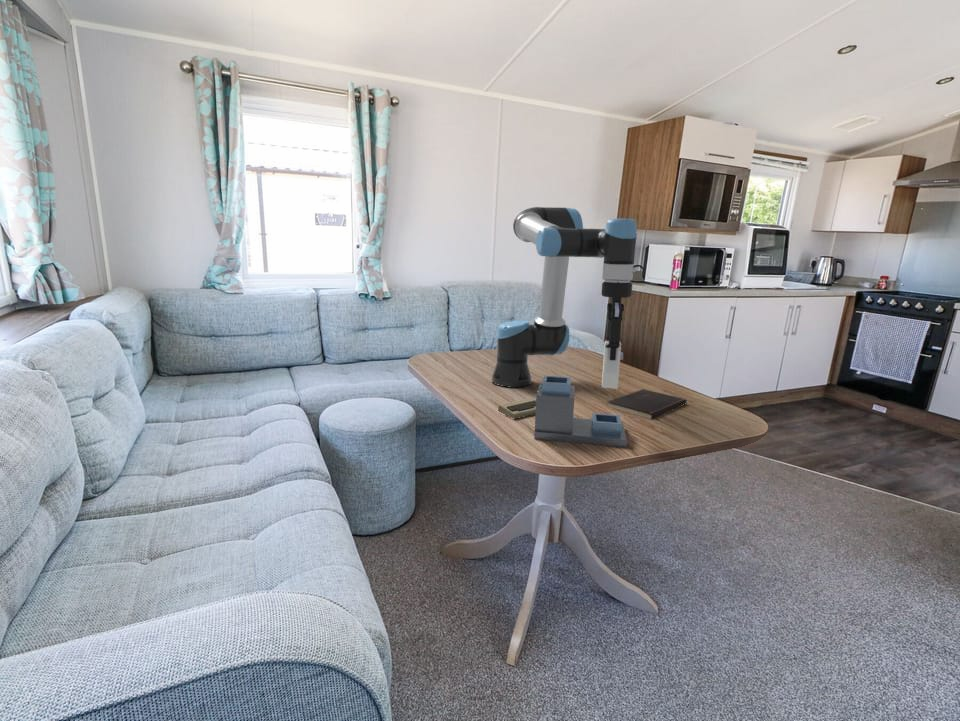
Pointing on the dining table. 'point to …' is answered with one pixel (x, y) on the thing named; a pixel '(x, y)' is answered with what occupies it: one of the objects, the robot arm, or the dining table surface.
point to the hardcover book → (646, 403)
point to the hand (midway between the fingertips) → (610, 369)
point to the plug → (611, 377)
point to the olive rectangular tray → (519, 408)
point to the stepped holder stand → (559, 421)
